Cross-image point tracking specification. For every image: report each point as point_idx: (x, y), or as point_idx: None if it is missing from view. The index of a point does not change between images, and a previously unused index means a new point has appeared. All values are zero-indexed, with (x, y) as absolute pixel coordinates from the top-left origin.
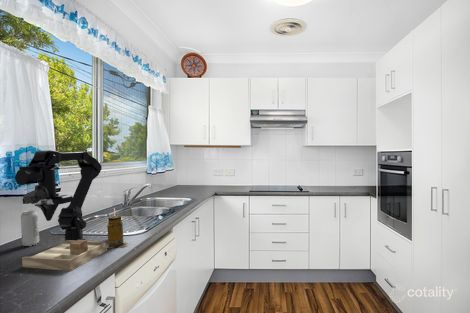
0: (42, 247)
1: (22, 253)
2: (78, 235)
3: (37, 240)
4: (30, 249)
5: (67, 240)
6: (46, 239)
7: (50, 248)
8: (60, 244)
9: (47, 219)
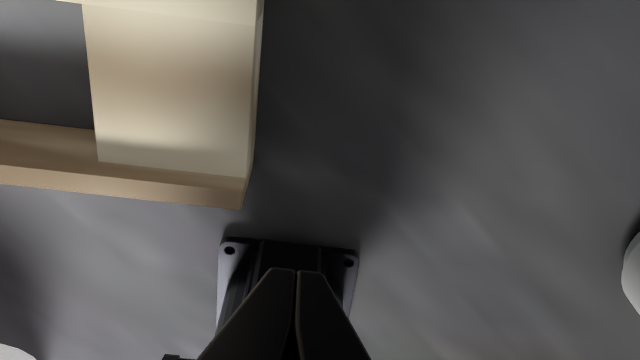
0: (512, 190)
1: (625, 39)
2: (216, 331)
3: (632, 280)
4: (605, 143)
5: (198, 201)
6: (604, 353)
7: (254, 16)
8: (244, 142)
9: (288, 286)
